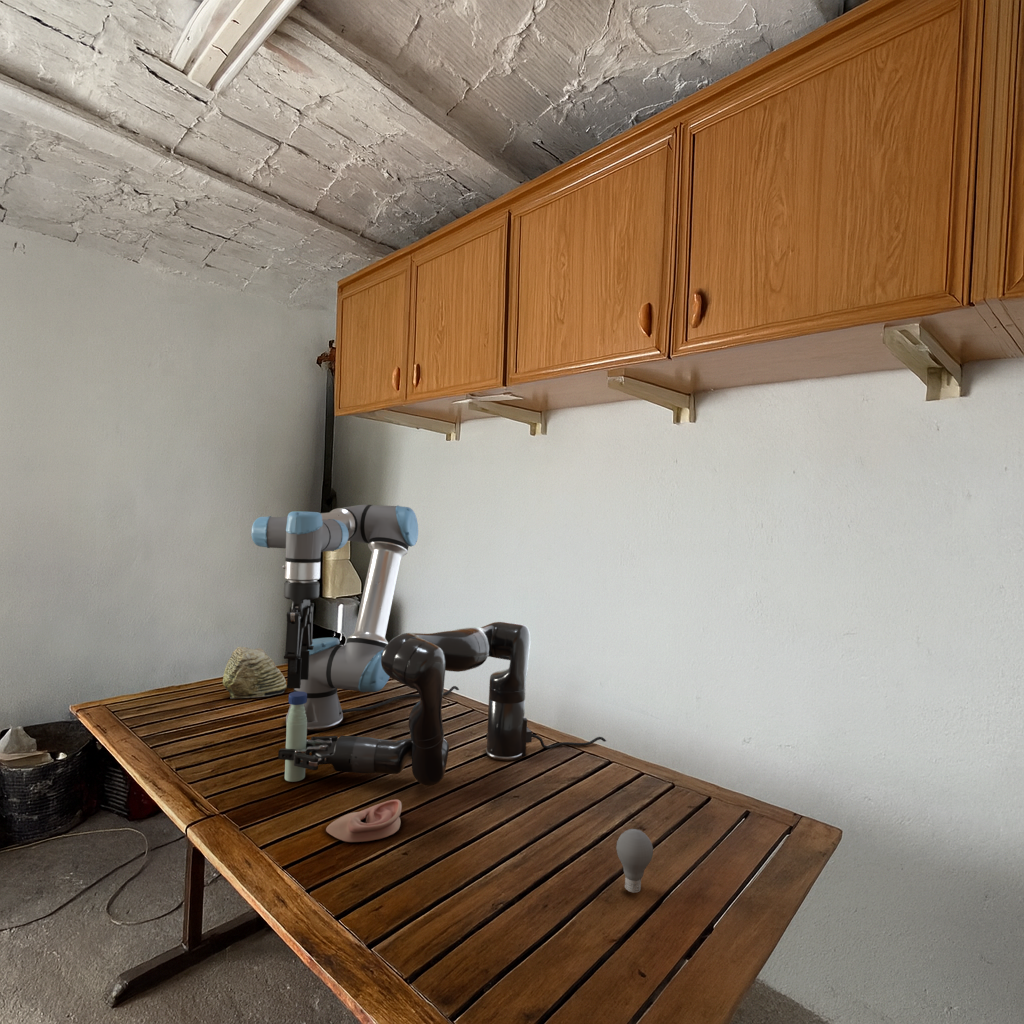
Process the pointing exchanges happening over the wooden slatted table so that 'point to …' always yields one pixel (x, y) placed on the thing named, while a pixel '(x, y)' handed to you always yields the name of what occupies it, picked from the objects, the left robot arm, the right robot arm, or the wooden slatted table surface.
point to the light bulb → (634, 857)
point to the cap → (297, 698)
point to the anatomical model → (368, 823)
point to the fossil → (252, 674)
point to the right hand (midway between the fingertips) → (284, 749)
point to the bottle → (295, 740)
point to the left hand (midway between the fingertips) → (297, 683)
